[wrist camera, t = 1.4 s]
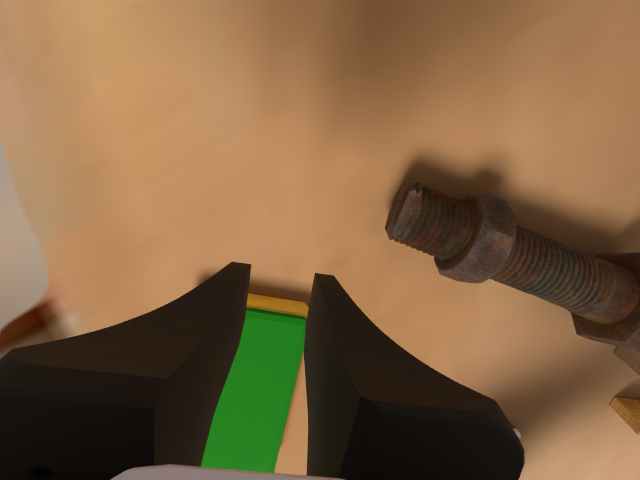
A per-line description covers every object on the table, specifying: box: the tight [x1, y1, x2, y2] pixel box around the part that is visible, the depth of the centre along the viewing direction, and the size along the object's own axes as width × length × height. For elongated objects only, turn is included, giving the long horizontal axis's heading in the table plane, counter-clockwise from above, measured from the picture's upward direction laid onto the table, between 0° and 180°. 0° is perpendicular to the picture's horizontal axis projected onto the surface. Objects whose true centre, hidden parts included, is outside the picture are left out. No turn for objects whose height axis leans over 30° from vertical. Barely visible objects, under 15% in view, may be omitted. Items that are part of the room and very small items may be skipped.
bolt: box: [385, 183, 640, 349], centre depth 20 cm, size 6×5×15 cm
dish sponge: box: [201, 293, 309, 473], centre depth 24 cm, size 7×14×2 cm, turn 168°
